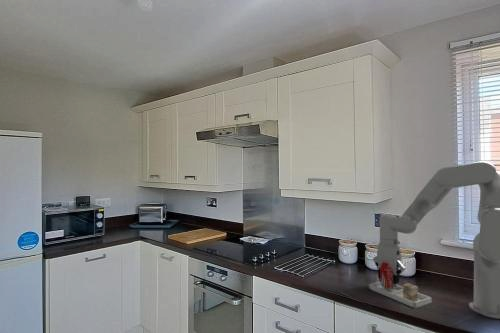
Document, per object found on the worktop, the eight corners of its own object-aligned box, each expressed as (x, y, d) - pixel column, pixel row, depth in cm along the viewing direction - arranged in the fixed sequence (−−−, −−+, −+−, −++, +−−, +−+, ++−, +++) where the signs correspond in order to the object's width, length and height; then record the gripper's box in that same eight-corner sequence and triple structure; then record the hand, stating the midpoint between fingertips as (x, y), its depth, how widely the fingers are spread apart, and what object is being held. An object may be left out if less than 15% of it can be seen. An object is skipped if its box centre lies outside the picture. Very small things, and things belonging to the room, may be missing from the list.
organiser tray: (431, 303, 127) (431, 297, 127) (415, 309, 121) (415, 303, 121) (385, 285, 146) (385, 280, 146) (368, 289, 140) (368, 284, 140)
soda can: (382, 283, 143) (382, 257, 143) (398, 287, 139) (398, 260, 139) (378, 287, 138) (378, 261, 138) (394, 291, 133) (394, 264, 133)
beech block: (417, 300, 128) (417, 286, 128) (411, 302, 126) (411, 288, 126) (408, 296, 131) (408, 283, 132) (402, 298, 130) (403, 284, 130)
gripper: (411, 245, 133) (411, 285, 132) (377, 237, 148) (377, 273, 148) (400, 247, 129) (400, 288, 129) (367, 238, 144) (367, 276, 144)
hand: (388, 280), depth 138 cm, fingers closed on soda can, 7 cm apart
